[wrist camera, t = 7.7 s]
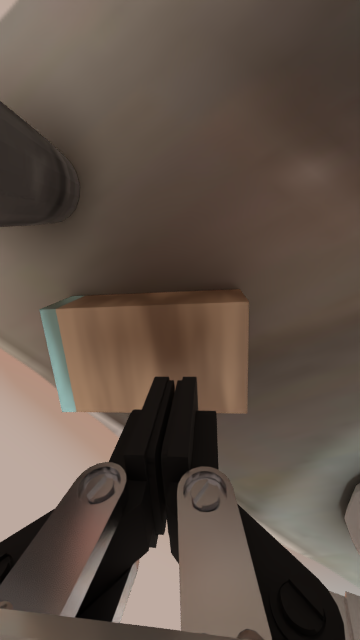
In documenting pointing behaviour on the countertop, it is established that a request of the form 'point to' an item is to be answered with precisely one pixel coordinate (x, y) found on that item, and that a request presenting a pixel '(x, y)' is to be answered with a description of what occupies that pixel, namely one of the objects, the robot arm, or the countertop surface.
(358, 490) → the jar
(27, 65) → the countertop surface
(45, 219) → the beverage cup
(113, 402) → the wooden block
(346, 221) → the countertop surface
